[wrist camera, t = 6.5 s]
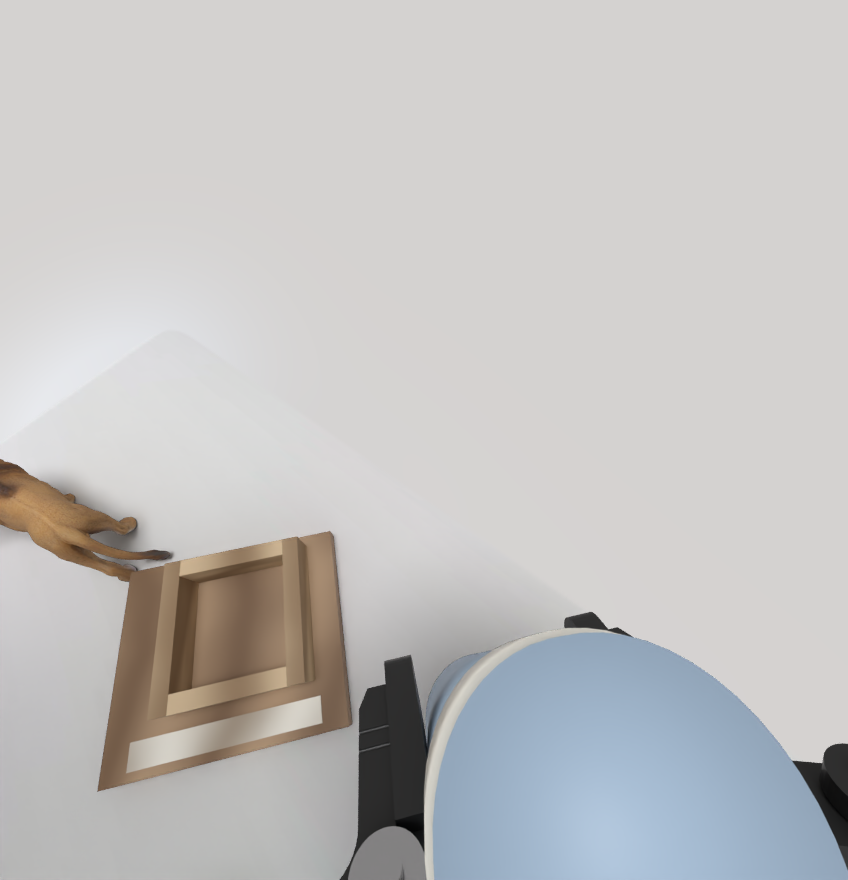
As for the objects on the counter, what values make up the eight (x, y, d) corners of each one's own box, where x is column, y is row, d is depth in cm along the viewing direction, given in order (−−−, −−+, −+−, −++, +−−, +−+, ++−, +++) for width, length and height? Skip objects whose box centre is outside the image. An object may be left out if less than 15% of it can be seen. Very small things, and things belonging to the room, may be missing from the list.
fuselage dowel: (438, 819, 13) (499, 1396, 3) (412, 666, 15) (391, 669, 5) (566, 782, 14) (1021, 1156, 3) (522, 639, 16) (711, 590, 6)
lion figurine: (-17, 545, 30) (-175, 503, 22) (32, 482, 32) (-93, 425, 25) (155, 591, 28) (50, 563, 20) (193, 521, 31) (113, 472, 23)
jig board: (112, 785, 23) (60, 805, 20) (141, 575, 29) (105, 564, 25) (352, 723, 24) (340, 733, 21) (333, 535, 30) (322, 520, 27)
